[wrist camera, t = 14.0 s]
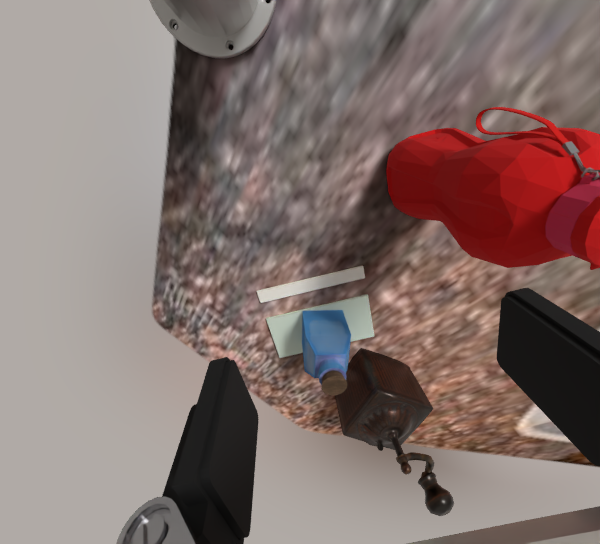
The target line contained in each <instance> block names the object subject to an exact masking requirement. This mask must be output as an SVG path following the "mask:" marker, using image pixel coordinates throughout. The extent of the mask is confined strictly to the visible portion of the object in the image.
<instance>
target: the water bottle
mask: <svg viewBox="0 0 600 544" xmlns="http://www.w3.org/2000/svg"><path fill="white" fill-rule="evenodd" d="M493 109H496V110H504V111H509V112H514V113H517V114H521V115H524V116H527V117H529V118H532V119H535V120H537V121H539V122H541V123H543V124H545V125H546V126H547V127H541V128H537V129H534V130H531V131H522V132H500V133H499V132H498V133H494V132H488V131H486V130H485V129H483V127H482V125H481V117H482V115H483V113H484V112H486V111H487V110H493ZM476 126H477V129H478V130H479V131H480V132H482V133H484V134H489V135H498V134H499V135H501V134H517V135H513V136H508V137H504V138H499V139H495V140H490V141H484V140H482V139H480V138H477V137H475V136H473V135H470V134H468V133H466V132H463V131H461V130H459V129H456V128H444V129H436V130H432V131H428V132H425V133H421V134H417V135H413V136H410V137H408V138H407V139H405V140H403V141H401V142H399V143H398V144H397V145H395V147H394V148H393V150H392V151H391V152H390V154H389V156H388V163H387V169H386V174H387V183H388V192H389V195H390V197H391V200H392V202H393V205H394V207H396V208H397V209H398V210H400V211H401V212H403V213H405V214H407V215H409V216H412V217H415V218H418V219H427V220H436V221H441V222H443V223H444V225H445V226H446V227H447V229H448V230H449V231H450V233H451V234H452V235H453V237H454V238H455V240H456V241H457V242H458V244H459V245H460V246H461V248H462V249H463V250H464V251H466V252H467V253H468V254H469V255H470V256H472V257H475V258H478V259H481V260H484V261H488V262H491V263H494V264H497V265H501V266H504V267H507V268H510V267H520V266H530V265H539V264H542V263H546V262H549V261H552V260H556V259H559V258H564V257H568V256H572V255H573V256H575V257H578V258H581V259H583V260H585V261H588V262H590V263H591V266H590V269H591V270H593V269H596V268H600V134H597V133H593V132H590V131H587V130H584V129H579V128H556V126H555V125H554V124H553V123H552V122H550V121H549V120H547V119H545V118H542V117H540V116H537V115H534V114H531V113H527V112H525V111H521V110H516V109H512V108H505V107H494V108H490V109H486V110H483V111H482V112H480V113H479V114H478V116H477V118H476Z"/></svg>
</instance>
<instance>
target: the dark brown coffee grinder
mask: <svg viewBox="0 0 600 544" xmlns="http://www.w3.org/2000/svg"><path fill="white" fill-rule="evenodd" d="M346 382H347V388H346V390H345V391H344V392H342V393H341V394H338V395H335V398H336V403H337V408H338V413H339V417H340V422H341V427H342V432H343V434H344V435H345V436H348V437H351V438H355V439H358V440H362V441H364V442H366V443H368V444H369V445H372V446H377V447H378V449H379V450H381V451H382V450H383V447H386V448H390V449H393V450H396V453H397V456H398V457H397V458H396V460H397V462H398V463H399V464H400V465H401V470H402V472H403V473H404V474H409V473H410V472H411V467H410V465H409V464H408V461H409V460H422V461H426V468H425V472H422V476H421V478H420V479H419V481H418V483H419V484H420V485H421V486H422V488H423V489H424V490H425V496H426V498H425V503H426V506H427V508H428V510H429V511H430V512H431V513H432V514H435V515H438V516H443V515H446V514H448V513H449V512H450V511H451V509H452V507H453V504H454V502H453V497H452V496H451V494H450V492H448V491H447V490H445V489H443V488H442V487H441V486H440V485H438V483H437V480H436V475H435V474H434V473H432V469H433V467H434V462H433V460H432V458H431V456H429V455H425V454H420V453H408V454H404V453H403V450H402V448H401V444H402V443H403V442H404V441H405V440H406V439H407V438H408V437H409V436H410V435H411V434H412V433H413V432H414V431H415V429H416V428H417V427H418V426H419V425H420V424H421V423H422V422H423V421H424V419H425V418H426V417H427V416H428V415H429V413H430V412H431V411H432V410H433V407H432V405H431V404H430V402H429V400H428V398H427V397H426V395H425V393H424V391H423V390H422V388H421V386H420V385H419V383H418V381H417V380H416V378H415V376H414V375H413V373H412V371H411V370H410V367H409V366H407V365H406V364H404V363H402V362H400V361H398V360H395V359H392V358H390V357H387V356H384V355H382V354H379V353H375V352H372V351H369V350H366V349H363V348H361V349H360V350H359V351H358V352H357V354H356V355H355V356H354V357H353V359H352V360H351V361H350V363H349V364H348V369H347V372H346Z"/></svg>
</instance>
